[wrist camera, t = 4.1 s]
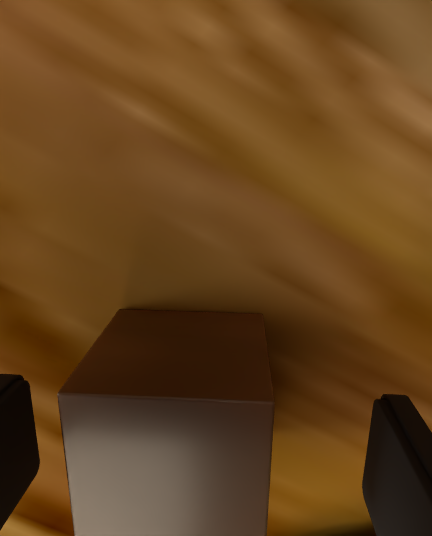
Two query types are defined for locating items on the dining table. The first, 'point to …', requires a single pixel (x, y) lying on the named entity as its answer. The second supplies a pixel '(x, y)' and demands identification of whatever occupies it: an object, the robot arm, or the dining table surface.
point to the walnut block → (171, 426)
